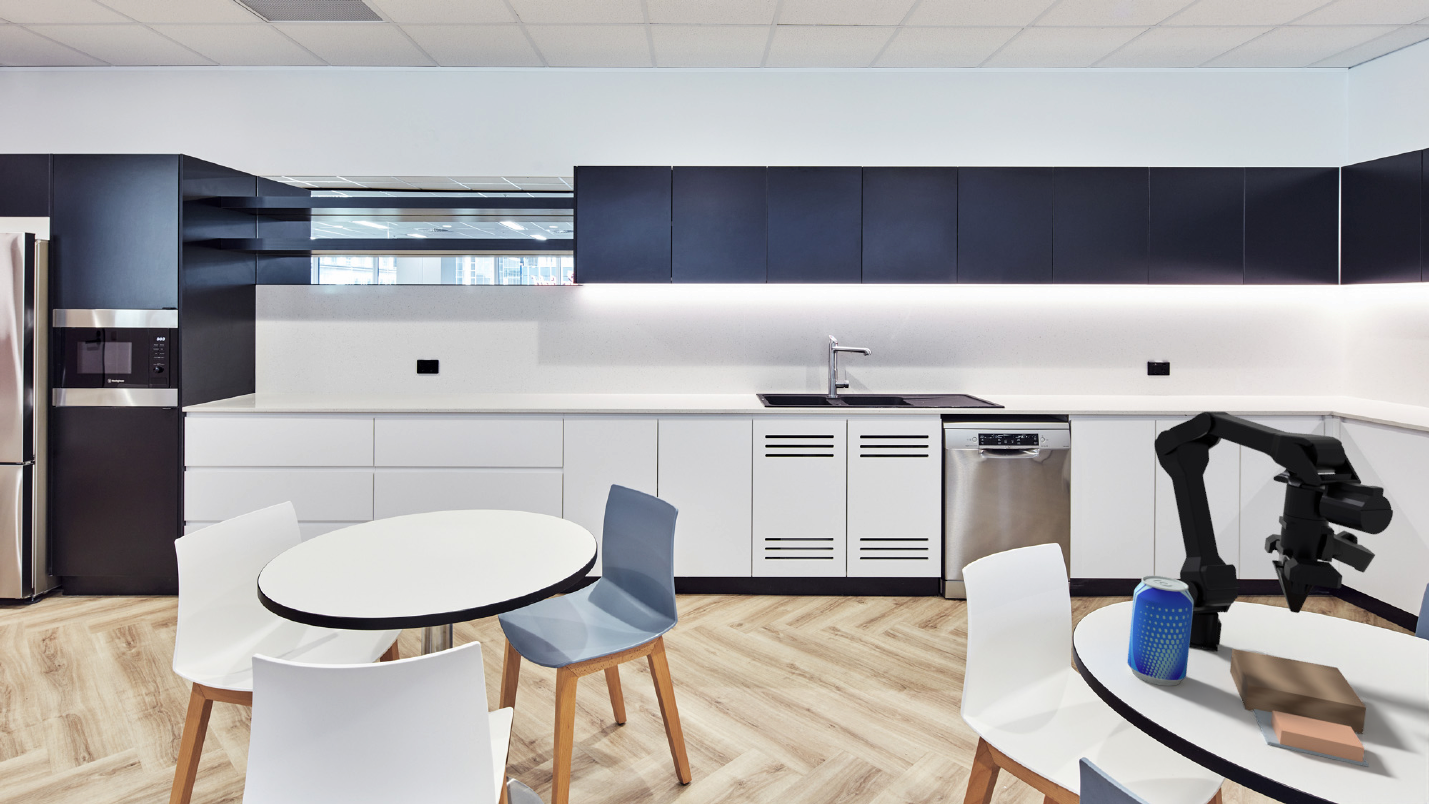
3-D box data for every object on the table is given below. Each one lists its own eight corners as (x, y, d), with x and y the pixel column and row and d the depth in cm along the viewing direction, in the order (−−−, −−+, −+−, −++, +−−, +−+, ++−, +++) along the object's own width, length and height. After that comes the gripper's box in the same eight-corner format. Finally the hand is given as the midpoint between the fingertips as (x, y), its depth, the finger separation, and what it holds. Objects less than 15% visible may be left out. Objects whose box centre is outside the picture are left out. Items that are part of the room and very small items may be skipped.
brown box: (1245, 709, 115) (1248, 684, 114) (1229, 671, 127) (1232, 648, 127) (1362, 734, 109) (1366, 707, 108) (1334, 691, 121) (1337, 667, 121)
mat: (1267, 744, 105) (1267, 741, 105) (1253, 711, 114) (1253, 708, 114) (1368, 766, 101) (1368, 763, 100) (1345, 730, 109) (1345, 727, 109)
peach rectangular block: (1272, 710, 110) (1270, 723, 110) (1281, 730, 105) (1279, 743, 105) (1350, 726, 106) (1348, 740, 106) (1364, 748, 101) (1362, 762, 101)
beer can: (1181, 670, 127) (1191, 578, 125) (1188, 693, 119) (1198, 595, 118) (1125, 660, 131) (1133, 570, 129) (1128, 680, 123) (1137, 586, 121)
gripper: (1393, 539, 106) (1379, 645, 108) (1352, 509, 123) (1340, 602, 125) (1296, 527, 111) (1284, 629, 113) (1269, 500, 128) (1259, 589, 130)
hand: (1294, 611), depth 120 cm, fingers closed
